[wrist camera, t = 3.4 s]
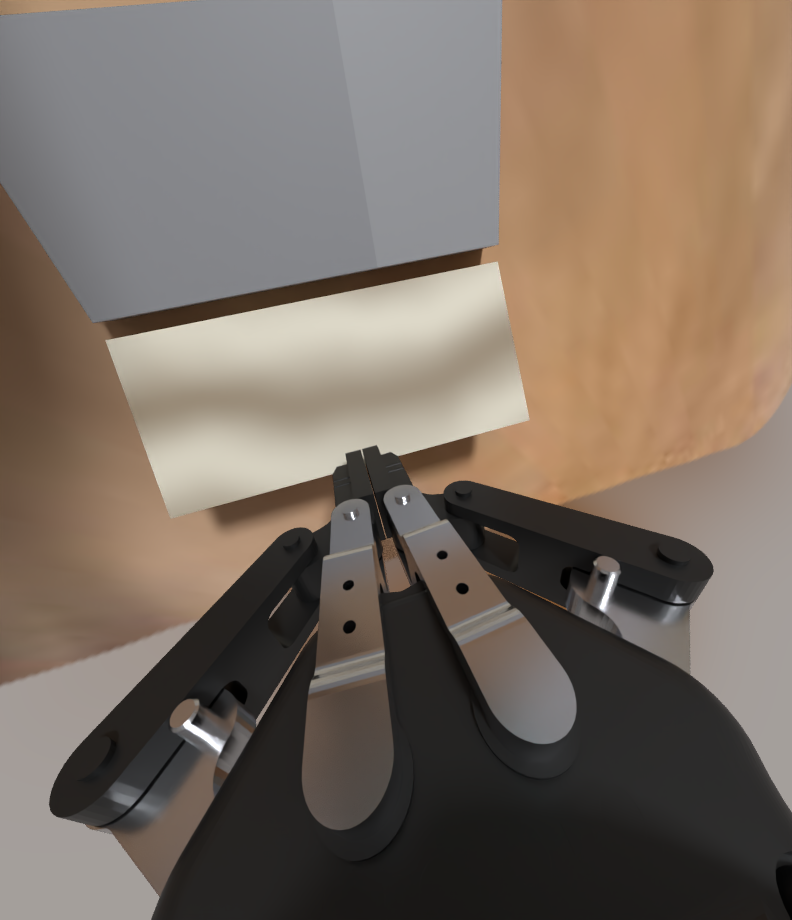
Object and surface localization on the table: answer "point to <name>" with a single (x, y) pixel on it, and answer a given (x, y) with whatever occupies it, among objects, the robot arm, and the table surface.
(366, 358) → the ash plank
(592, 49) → the table surface
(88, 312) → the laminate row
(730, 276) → the table surface
